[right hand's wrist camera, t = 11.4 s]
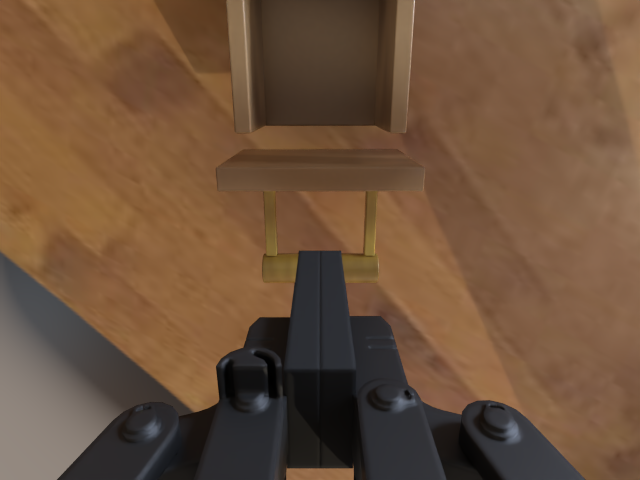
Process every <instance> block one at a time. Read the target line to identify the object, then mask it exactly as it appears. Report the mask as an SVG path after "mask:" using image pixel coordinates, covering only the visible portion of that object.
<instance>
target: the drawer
mask: <svg viewBox="0 0 640 480" xmlns="http://www.w3.org/2000/svg"><path fill="white" fill-rule="evenodd" d="M414 6H415V0H226V8H227V23H228V37H229V52H230V67H231V82H232V96H233V111H234V126H235V133H251V132H253V131H255V130H257V129H259V128H261V127H263V126H365V125H375V126H377V127H379V128H381V129H383V130H385V131H387V132H390V133H406V126H407V111H408V96H409V81H410V66H411V51H412V36H413V21H414ZM216 177H217V189H218V191H263V194H264V215H265V236H266V254H264V256H263V262H262V276H263V281H264V283H295V278H296V270H297V263H298V255H299V254H277V253H278V247H277V221H276V194H275V191H366V193H365V221H364V248H363V252H364V254H341V255H342V263H343V270H344V278H345V283H377V281H378V276H379V261H378V255H377V254H375V236H376V214H377V193H378V191H423V189H424V177H425V167H423V166H422V165H420V164H419V163H417V162H416V161H414V160H413V159H411V158H410V157H408V156H407V155H405V154H404V153H402V152H401V151H399V150H397V149H273V150H242V151H241V152H239V153H238V154H236V155H235V156H233V157H231V158H230V159H228V160H227V161H225V162H224V163H222V164H221V165H219V166H218V167H216Z"/></svg>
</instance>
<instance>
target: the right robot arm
mask: <svg viewBox="0 0 640 480" xmlns="http://www.w3.org/2000/svg"><path fill="white" fill-rule="evenodd" d="M216 371H217V380H218V389H219V403H217V404H216V405H214V406H212V407H210V408H208V409H205V410H202V411H199V412H195V413H191V414H187V415H183V416H179V417H178V413H177V411H176V410H175V409H174V408H173V406H170V405H168V404H165V403H163V402H149V403H145V404H141V405H137V406H134V407H133V408H130V409H128V410H126V411H124V412H123V413H122V414H120V415H119V416H118V417H117V418H115V419H114V420H113V421H112V422H111V423H110V424H109V425H108V426H107V427H106V428H105V430H104V431H103V432H102V433H101V434H100V435H99V436H98V437H97V438H96V439H95V440H94V441H93V442H92V443H91V444H90V445H89V446H88V447H87V449H86V450H85V451H84V452H83V453H82V454H81V455H80V456H79V457H78V458H77V459H76V460H75V461H74V462H73V464H71V466H70V467H69V468H68V469H67V470H66V471H65V472H64V473H63V474H62V475H61V476H60V477H59V478H58V479H57V480H286V468H353V466H354V480H585V479H584V478H583V477H582V476H581V475H580V473H579V472H578V471H577V470H576V469H575V468H574V467H573V466H572V465H571V464H570V463H569V462H568V461H567V460H566V459H565V458H564V457H563V456H562V455H561V454H560V452H559V451H558V450H557V449H556V448H555V447H554V446H553V445H552V444H551V443H550V442H549V441H548V440H547V439H546V438H545V437H544V436H543V435H542V434H541V432H540V431H539V430H538V429H537V428H536V427H535V426H534V425H533V424H532V423H531V422H530V421H529V420H528V419H527V418H526V417H525V416H523V415H522V414H521V413H520V412H518V411H517V410H516V409H514V408H512V407H509V406H507V405H505V404H503V403H499V402H494V401H490V400H487V401H476V402H473V403H471V404H468V405H467V406H466V408H465V409H464V410H463V411H462V415H460V414H456V413H451V412H447V411H443V410H440V409H437V408H434V407H431V406H429V405H428V404H426V403H424V402H422V401H421V399H420V397H419V396H418V394H417V392H416V391H415V390H414V389H413V388H412V387H410V386H409V385H408V383H407V380H406V376H405V373H404V370H403V366H402V363H401V359H400V356H399V353H398V349H397V346H396V343H395V339H394V336H393V333H392V329H391V326H390V325H389V324H388V323H387V322H386V321H385V320H384V319H383V318H382V317H381V316H349V309H348V301H347V293H346V286H345V278H344V270H343V263H342V255H341V251H299V255H298V263H297V270H296V278H295V286H294V293H293V301H292V309H291V316H290V317H260V318H259V319H258V320H257V321H255V322H254V323H253V324H252V325H251V326H250V328H249V331H248V334H247V338H246V341H245V344H244V348H241V349H238V350H235V351H233V352H230V353H229V354H227V355H226V356H224V357H223V358H221V360H220V361H219V363H218V364H217V366H216Z"/></svg>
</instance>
